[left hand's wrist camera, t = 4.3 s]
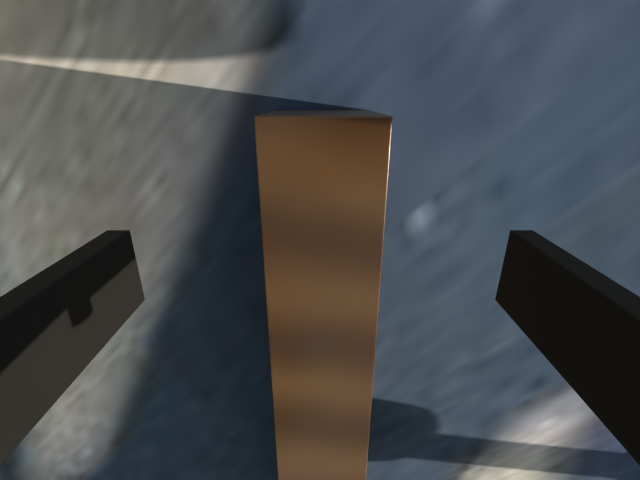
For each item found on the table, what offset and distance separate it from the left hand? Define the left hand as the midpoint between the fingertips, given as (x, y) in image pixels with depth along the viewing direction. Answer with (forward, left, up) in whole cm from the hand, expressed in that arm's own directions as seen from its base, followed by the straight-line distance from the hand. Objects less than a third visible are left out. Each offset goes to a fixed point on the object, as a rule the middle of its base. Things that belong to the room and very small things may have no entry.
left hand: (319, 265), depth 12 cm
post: (+21, +23, -12) cm, 34 cm away
